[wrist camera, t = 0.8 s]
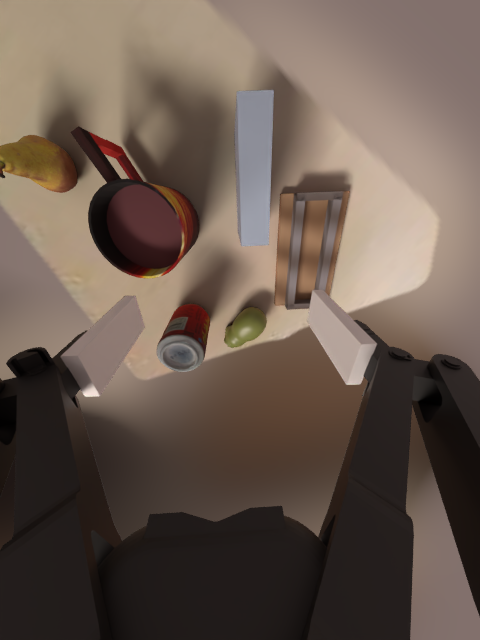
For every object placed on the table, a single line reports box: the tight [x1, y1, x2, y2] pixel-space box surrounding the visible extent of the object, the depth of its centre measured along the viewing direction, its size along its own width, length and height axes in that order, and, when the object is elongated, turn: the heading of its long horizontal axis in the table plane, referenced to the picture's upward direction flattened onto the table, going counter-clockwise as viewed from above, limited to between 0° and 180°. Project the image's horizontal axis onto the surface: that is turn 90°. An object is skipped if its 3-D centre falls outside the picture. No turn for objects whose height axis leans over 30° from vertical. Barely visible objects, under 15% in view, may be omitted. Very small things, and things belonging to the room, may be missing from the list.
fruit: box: [0, 135, 77, 193], centre depth 23 cm, size 6×6×12 cm
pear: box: [224, 307, 267, 348], centre depth 40 cm, size 6×5×10 cm
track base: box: [274, 191, 350, 310], centre depth 34 cm, size 18×10×3 cm, turn 2°
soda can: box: [157, 304, 210, 372], centre depth 35 cm, size 7×7×12 cm
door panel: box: [234, 90, 274, 246], centre depth 25 cm, size 12×3×12 cm, turn 2°
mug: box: [71, 127, 199, 278], centre depth 26 cm, size 10×14×12 cm
